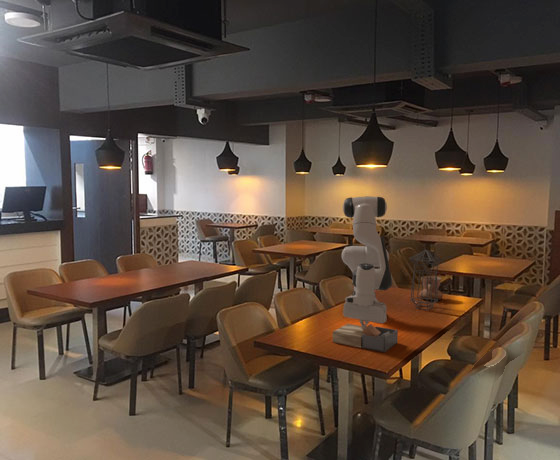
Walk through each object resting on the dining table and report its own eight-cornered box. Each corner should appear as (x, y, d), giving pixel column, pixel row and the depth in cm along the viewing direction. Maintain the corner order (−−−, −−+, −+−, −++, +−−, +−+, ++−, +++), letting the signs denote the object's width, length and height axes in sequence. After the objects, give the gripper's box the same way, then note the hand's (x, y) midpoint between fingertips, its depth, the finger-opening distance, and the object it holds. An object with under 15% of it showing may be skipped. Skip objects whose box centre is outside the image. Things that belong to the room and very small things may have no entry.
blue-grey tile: (388, 331, 221) (392, 337, 220) (378, 336, 224) (381, 342, 223) (384, 334, 216) (387, 340, 215) (373, 340, 219) (376, 346, 218)
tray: (375, 338, 230) (375, 326, 230) (397, 342, 224) (397, 330, 224) (361, 347, 217) (361, 334, 216) (384, 352, 211) (385, 338, 211)
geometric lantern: (406, 308, 292) (408, 249, 290) (417, 304, 304) (419, 248, 302) (432, 312, 282) (434, 251, 280) (442, 307, 294) (444, 249, 292)
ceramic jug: (421, 295, 327) (421, 274, 325) (444, 297, 321) (444, 276, 319) (416, 301, 310) (417, 279, 309) (440, 303, 304) (441, 281, 303)
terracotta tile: (367, 328, 226) (370, 323, 225) (377, 337, 223) (381, 332, 222) (362, 331, 221) (365, 327, 220) (372, 341, 218) (376, 336, 217)
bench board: (347, 333, 238) (347, 323, 238) (374, 338, 230) (374, 328, 230) (332, 342, 225) (332, 331, 224) (360, 347, 217) (361, 336, 217)
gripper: (389, 301, 220) (388, 331, 221) (348, 295, 231) (347, 324, 232) (384, 304, 214) (383, 335, 216) (342, 297, 226) (341, 327, 227)
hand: (364, 329), depth 224 cm, fingers closed, pressing on terracotta tile
